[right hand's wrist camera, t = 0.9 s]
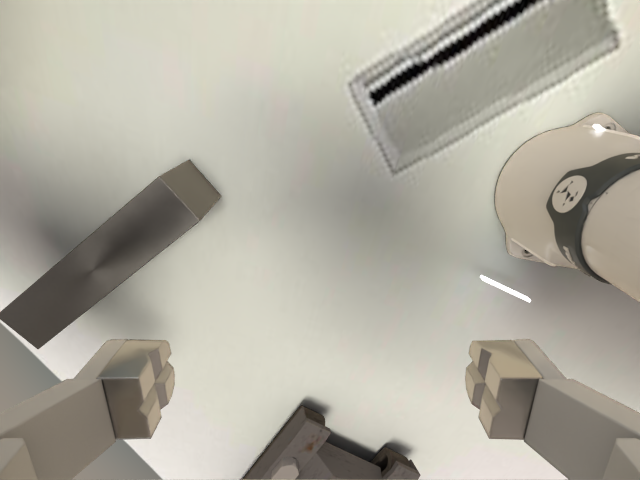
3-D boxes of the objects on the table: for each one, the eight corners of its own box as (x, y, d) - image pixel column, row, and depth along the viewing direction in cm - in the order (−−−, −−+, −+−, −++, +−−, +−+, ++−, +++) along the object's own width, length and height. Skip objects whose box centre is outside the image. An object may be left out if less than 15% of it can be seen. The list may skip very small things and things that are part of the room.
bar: (189, 159, 46) (159, 176, 37) (221, 196, 47) (200, 220, 39) (50, 276, 51) (-5, 315, 42) (84, 306, 53) (37, 349, 44)
